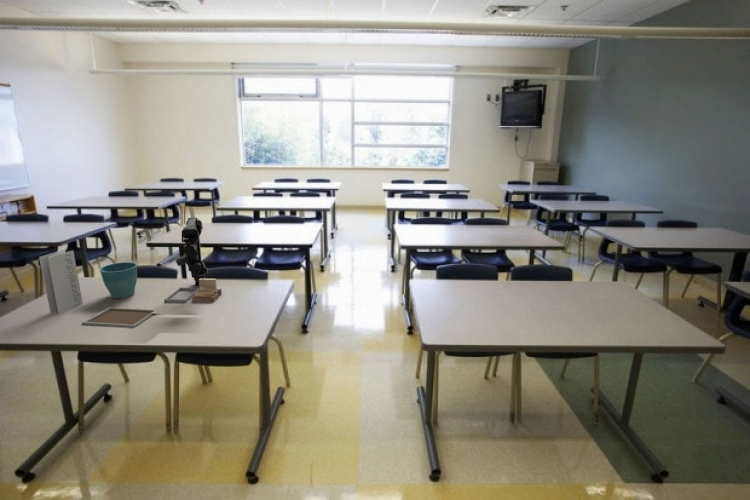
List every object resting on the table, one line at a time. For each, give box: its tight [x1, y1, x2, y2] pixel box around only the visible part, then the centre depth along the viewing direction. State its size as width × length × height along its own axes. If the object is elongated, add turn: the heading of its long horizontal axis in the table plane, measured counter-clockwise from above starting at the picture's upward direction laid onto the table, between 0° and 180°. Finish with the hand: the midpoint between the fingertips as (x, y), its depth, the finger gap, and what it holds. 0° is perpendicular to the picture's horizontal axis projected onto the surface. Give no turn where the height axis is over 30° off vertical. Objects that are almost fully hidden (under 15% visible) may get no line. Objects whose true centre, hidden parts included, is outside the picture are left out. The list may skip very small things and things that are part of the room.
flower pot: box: [99, 261, 138, 299], centre depth 242 cm, size 18×18×17 cm
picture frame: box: [81, 306, 157, 328], centre depth 214 cm, size 19×2×30 cm
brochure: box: [38, 249, 83, 315], centre depth 221 cm, size 14×6×30 cm, turn 168°
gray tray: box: [163, 286, 200, 303], centre depth 240 cm, size 19×12×3 cm, turn 0°
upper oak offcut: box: [195, 290, 215, 297], centre depth 234 cm, size 4×9×2 cm, turn 90°
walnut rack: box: [191, 288, 222, 303], centre depth 238 cm, size 12×12×4 cm
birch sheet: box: [198, 278, 218, 292], centre depth 239 cm, size 2×9×10 cm, turn 90°
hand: (194, 277), depth 234 cm, fingers open, 9 cm apart
